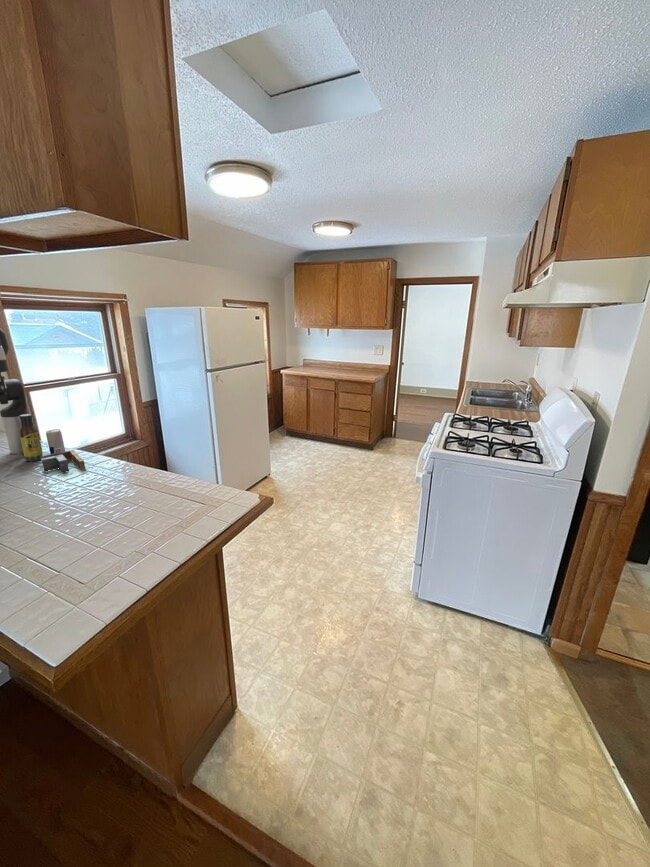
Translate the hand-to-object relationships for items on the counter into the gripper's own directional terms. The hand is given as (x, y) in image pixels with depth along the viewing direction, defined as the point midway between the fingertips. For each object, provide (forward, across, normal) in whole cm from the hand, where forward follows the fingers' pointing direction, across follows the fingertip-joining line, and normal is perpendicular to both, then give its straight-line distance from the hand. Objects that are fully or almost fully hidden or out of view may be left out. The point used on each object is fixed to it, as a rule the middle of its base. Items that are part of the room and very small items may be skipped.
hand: (3, 402), depth 130 cm
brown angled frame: (+28, -7, -13) cm, 32 cm away
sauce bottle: (+28, +13, -6) cm, 32 cm away
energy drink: (+28, +10, -14) cm, 33 cm away
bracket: (+28, -9, -10) cm, 31 cm away
